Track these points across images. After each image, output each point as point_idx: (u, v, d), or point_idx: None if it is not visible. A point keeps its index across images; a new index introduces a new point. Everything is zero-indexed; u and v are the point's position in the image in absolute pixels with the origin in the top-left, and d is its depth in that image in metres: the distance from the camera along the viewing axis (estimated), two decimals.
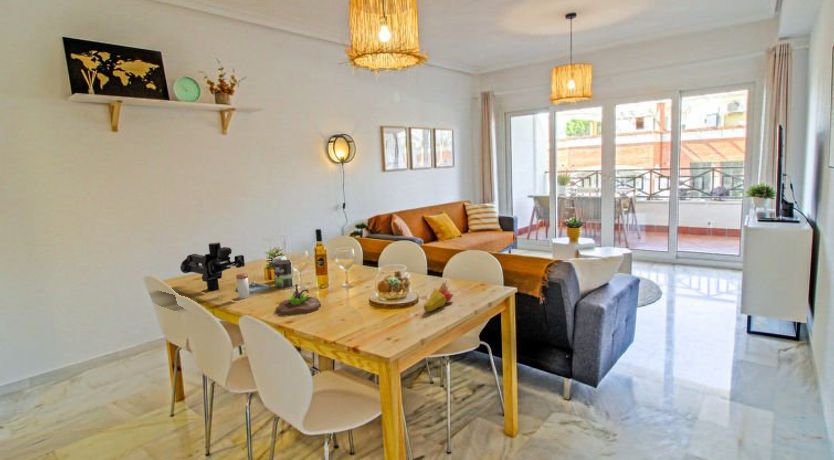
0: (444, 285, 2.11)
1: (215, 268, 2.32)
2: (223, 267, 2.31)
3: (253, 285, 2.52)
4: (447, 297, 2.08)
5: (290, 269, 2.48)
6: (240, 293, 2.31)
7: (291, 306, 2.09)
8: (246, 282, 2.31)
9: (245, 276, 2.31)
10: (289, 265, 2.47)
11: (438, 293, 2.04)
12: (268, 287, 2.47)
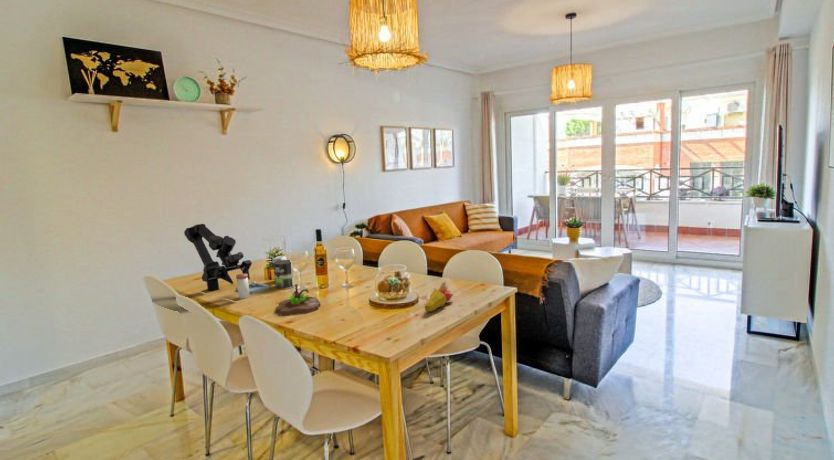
0: (444, 285, 2.11)
1: (221, 275, 2.30)
2: (229, 280, 2.30)
3: (253, 285, 2.52)
4: (447, 297, 2.08)
5: (290, 269, 2.48)
6: (240, 293, 2.31)
7: (291, 306, 2.09)
8: (246, 282, 2.31)
9: (245, 276, 2.31)
10: (289, 265, 2.47)
11: (438, 293, 2.04)
12: (268, 287, 2.47)
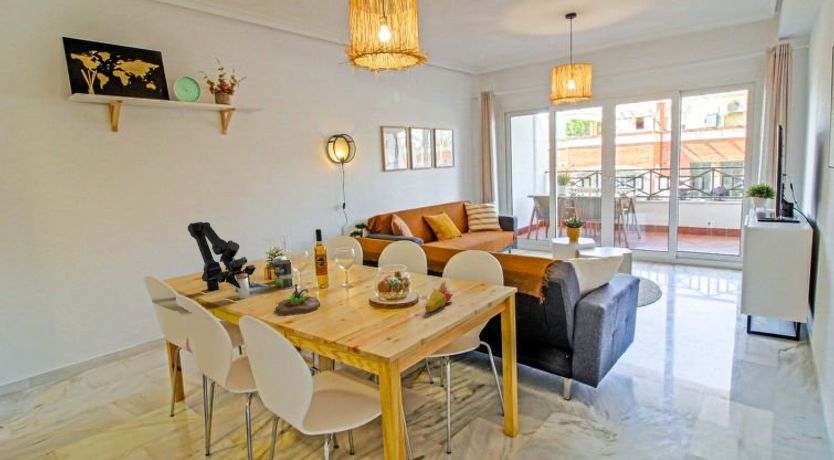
0: (444, 285, 2.11)
1: (228, 279, 2.30)
2: (236, 284, 2.30)
3: (253, 285, 2.52)
4: (447, 297, 2.08)
5: (290, 269, 2.48)
6: (240, 293, 2.31)
7: (290, 306, 2.09)
8: (246, 282, 2.31)
9: (245, 276, 2.31)
10: (289, 265, 2.47)
11: (438, 293, 2.04)
12: (268, 287, 2.47)
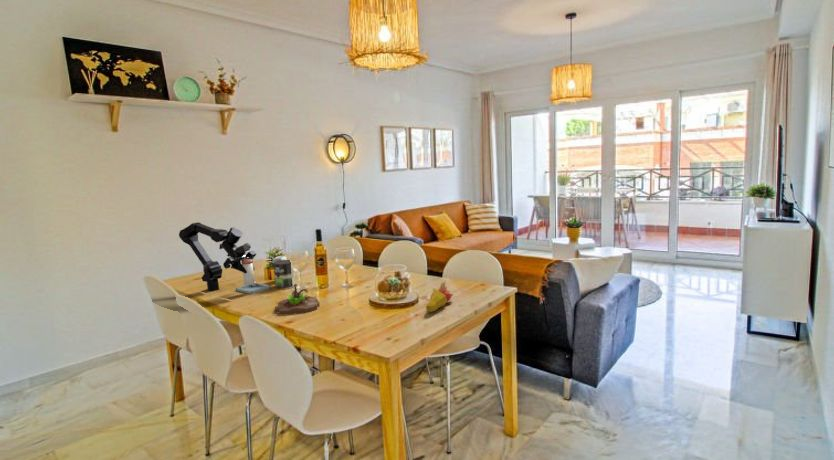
0: (444, 285, 2.11)
1: (234, 265, 2.35)
2: (242, 269, 2.36)
3: (253, 285, 2.52)
4: (447, 297, 2.08)
5: (290, 269, 2.48)
6: (246, 278, 2.37)
7: (290, 305, 2.10)
8: (252, 267, 2.38)
9: (251, 261, 2.37)
10: (289, 265, 2.47)
11: (439, 293, 2.04)
12: (268, 287, 2.47)
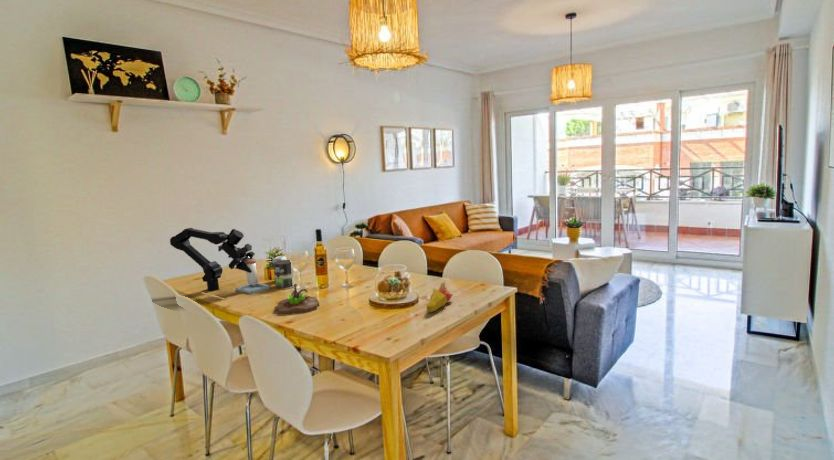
0: (443, 285, 2.11)
1: (239, 265, 2.41)
2: (247, 269, 2.42)
3: (253, 285, 2.52)
4: (447, 297, 2.08)
5: (290, 269, 2.48)
6: (251, 277, 2.44)
7: (289, 305, 2.10)
8: (255, 266, 2.46)
9: (255, 260, 2.45)
10: (289, 265, 2.47)
11: (439, 293, 2.04)
12: (268, 287, 2.47)
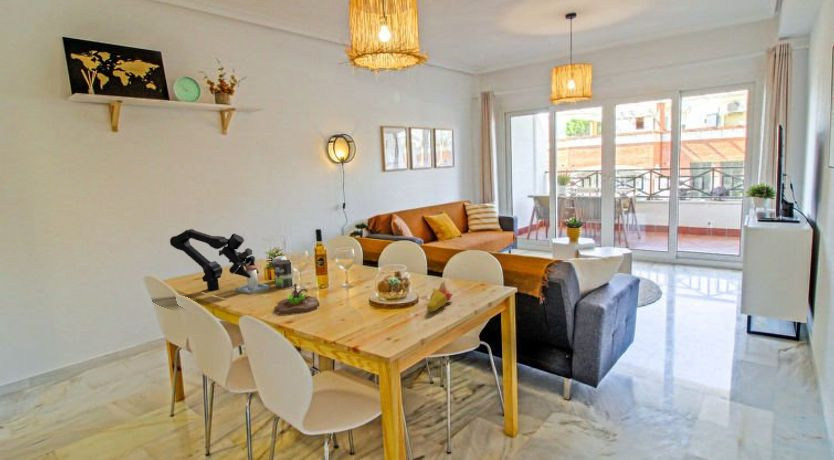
0: (443, 285, 2.10)
1: (237, 270, 2.39)
2: (246, 274, 2.41)
3: None
4: (447, 297, 2.08)
5: (290, 269, 2.48)
6: (252, 284, 2.45)
7: (290, 305, 2.10)
8: (256, 273, 2.47)
9: (255, 267, 2.46)
10: (289, 265, 2.47)
11: (439, 293, 2.04)
12: (268, 287, 2.47)
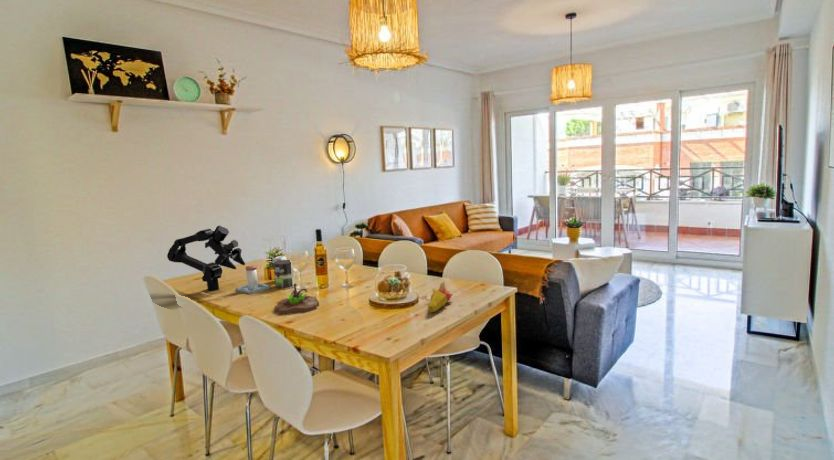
0: (443, 285, 2.11)
1: (223, 262, 2.40)
2: (232, 266, 2.41)
3: None
4: (447, 297, 2.08)
5: (290, 269, 2.48)
6: (252, 284, 2.45)
7: (289, 305, 2.10)
8: (256, 273, 2.47)
9: None
10: (289, 265, 2.47)
11: (439, 293, 2.04)
12: (268, 287, 2.47)
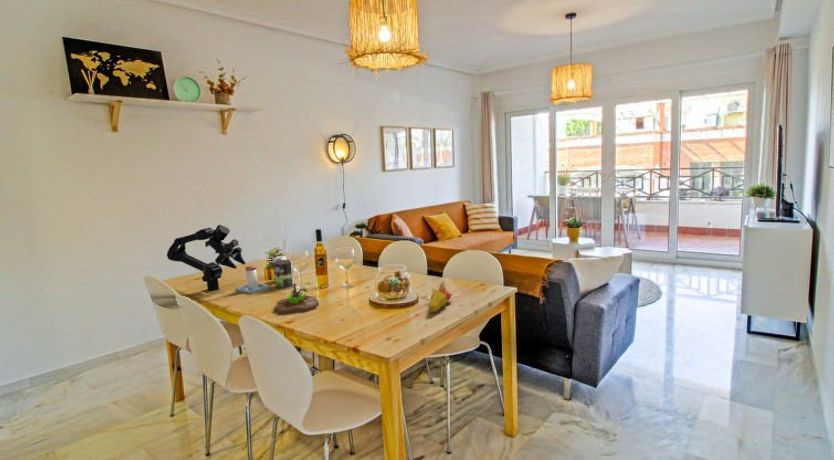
0: (443, 285, 2.10)
1: (223, 261, 2.40)
2: (232, 265, 2.42)
3: None
4: (447, 297, 2.08)
5: (290, 269, 2.48)
6: (252, 284, 2.45)
7: (289, 305, 2.11)
8: (256, 273, 2.47)
9: (255, 267, 2.46)
10: (289, 265, 2.47)
11: (440, 293, 2.04)
12: (268, 287, 2.47)
